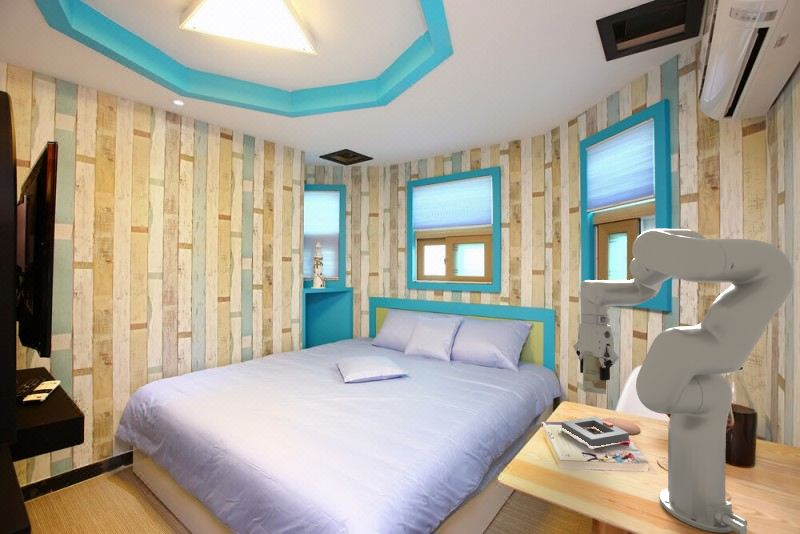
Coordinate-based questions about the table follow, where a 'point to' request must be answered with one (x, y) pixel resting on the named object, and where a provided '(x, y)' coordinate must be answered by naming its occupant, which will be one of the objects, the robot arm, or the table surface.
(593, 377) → the skincare box
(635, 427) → the coaster
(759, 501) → the table surface
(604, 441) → the gray square frame
